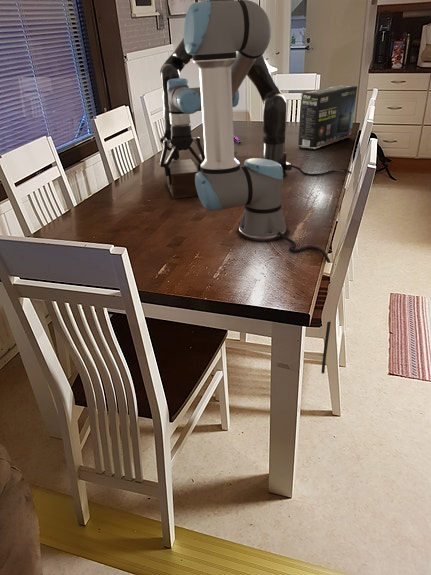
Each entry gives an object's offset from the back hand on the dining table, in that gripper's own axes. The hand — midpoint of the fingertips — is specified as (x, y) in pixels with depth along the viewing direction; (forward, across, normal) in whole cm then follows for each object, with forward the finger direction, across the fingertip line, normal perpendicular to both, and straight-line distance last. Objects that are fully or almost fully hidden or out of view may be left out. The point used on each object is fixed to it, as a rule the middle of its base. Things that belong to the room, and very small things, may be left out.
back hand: (175, 159), depth 196 cm
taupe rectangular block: (+8, 0, +15) cm, 17 cm away
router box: (+8, -85, -35) cm, 92 cm away
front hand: (+3, 0, +21) cm, 21 cm away
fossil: (+8, -24, -24) cm, 35 cm away
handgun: (+8, -40, -60) cm, 73 cm away
